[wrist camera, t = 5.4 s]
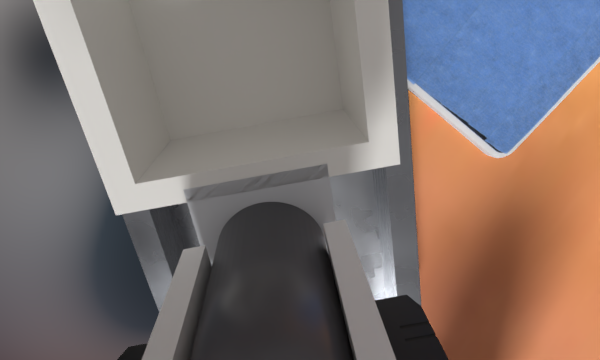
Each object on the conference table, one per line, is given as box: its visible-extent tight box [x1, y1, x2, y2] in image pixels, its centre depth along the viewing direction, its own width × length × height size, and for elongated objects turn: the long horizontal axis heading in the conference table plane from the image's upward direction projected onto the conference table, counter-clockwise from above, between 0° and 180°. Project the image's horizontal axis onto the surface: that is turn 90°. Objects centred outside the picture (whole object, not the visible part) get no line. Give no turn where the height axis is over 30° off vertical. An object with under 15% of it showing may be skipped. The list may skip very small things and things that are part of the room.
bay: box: [122, 0, 421, 312], centre depth 19 cm, size 13×30×4 cm, turn 9°
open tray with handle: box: [33, 0, 400, 360], centre depth 11 cm, size 10×14×16 cm
